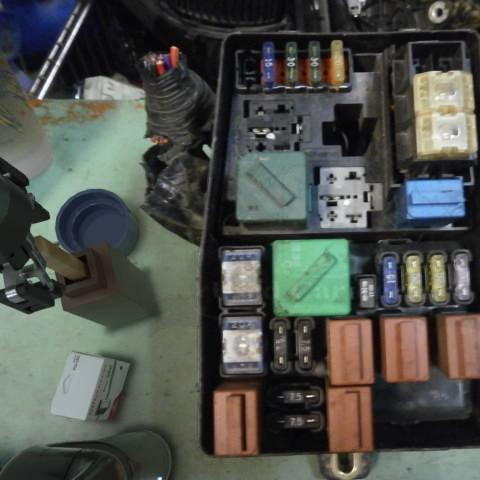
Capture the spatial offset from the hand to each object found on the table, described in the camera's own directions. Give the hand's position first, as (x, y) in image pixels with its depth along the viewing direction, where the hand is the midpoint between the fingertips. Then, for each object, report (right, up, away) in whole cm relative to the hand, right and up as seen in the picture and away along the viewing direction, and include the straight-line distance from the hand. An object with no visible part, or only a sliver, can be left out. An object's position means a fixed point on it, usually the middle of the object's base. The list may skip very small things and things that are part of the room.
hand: (49, 255), depth 58 cm
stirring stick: (0, -3, +10) cm, 10 cm away
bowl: (-6, +3, +30) cm, 31 cm away
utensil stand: (-1, -8, +27) cm, 28 cm away
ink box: (-3, -21, +24) cm, 32 cm away
